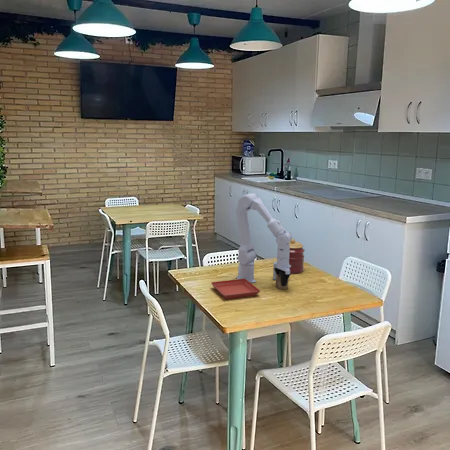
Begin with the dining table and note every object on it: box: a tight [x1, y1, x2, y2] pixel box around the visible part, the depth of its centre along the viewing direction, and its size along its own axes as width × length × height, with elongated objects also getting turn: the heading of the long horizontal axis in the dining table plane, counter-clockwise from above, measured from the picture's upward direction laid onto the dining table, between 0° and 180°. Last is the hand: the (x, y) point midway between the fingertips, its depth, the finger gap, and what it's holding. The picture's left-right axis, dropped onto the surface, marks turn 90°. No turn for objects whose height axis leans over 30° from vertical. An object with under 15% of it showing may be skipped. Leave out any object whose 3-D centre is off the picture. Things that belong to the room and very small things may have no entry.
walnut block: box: [275, 274, 289, 290], centre depth 218 cm, size 4×4×6 cm
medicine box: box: [272, 261, 290, 281], centre depth 230 cm, size 8×4×9 cm, turn 84°
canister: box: [289, 238, 305, 275], centre depth 244 cm, size 13×13×18 cm
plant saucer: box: [210, 278, 261, 300], centre depth 211 cm, size 18×18×3 cm
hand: (281, 284), depth 219 cm, fingers closed on walnut block, 4 cm apart
